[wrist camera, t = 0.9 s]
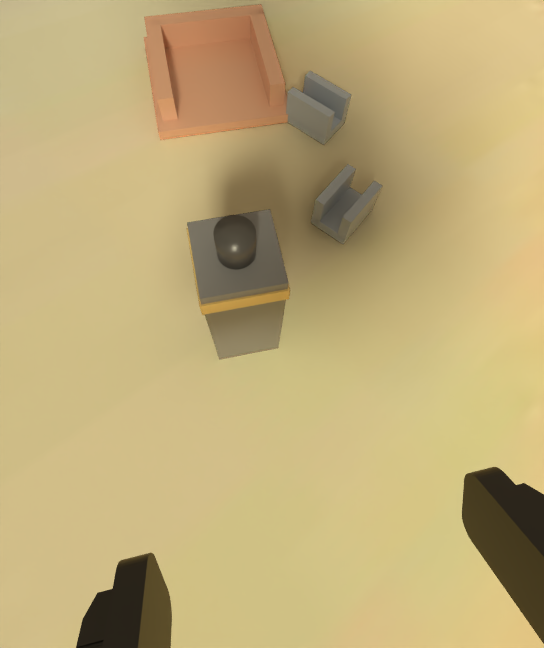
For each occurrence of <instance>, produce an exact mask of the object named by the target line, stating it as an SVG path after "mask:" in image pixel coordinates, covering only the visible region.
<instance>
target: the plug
mask: <svg viewBox="0 0 544 648" xmlns="http://www.w3.org/2000/svg"><path fill="white" fill-rule="evenodd" d="M187 226H188V228H187V234H188V240H189V246H190V252H191V258H192V264H193V270H194V276H195V282H196V288H197V294H198V300H199V306H200V309H201V312H202V315H205V317H206V320H207V323H208V326H209V329H210V332H211V335H212V338H213V341H214V344H215V347H216V350H217V353H218V357H219V359H225V358H230V357H235V356H240V355H245V354H250V353H255V352H260V351H265V350H271V349H276V348H278V346H279V339H280V333H281V327H282V321H283V315H284V308H285V302H286V299H289V295H290V287H289V283H288V279H287V275H286V271H285V267H284V263H283V259H282V255H281V251H280V247H279V243H278V239H277V235H276V231H275V227H274V223H273V219H272V215H271V211H270V209H268V210H262V211H256V212H250V213H243V214H237V215H229V216H225V217H218V218H212V219H206V220H200V221H193V222H187Z"/></svg>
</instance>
